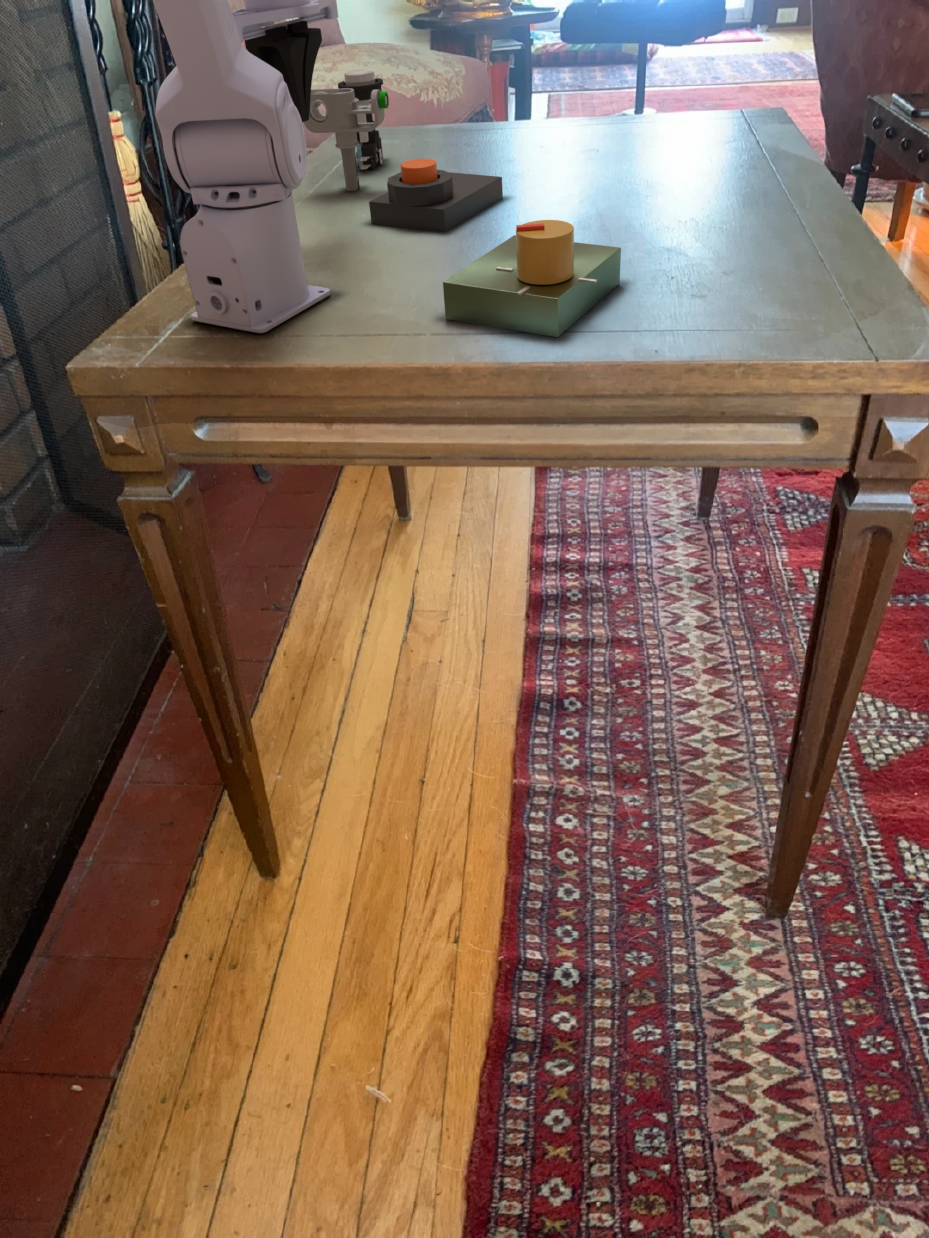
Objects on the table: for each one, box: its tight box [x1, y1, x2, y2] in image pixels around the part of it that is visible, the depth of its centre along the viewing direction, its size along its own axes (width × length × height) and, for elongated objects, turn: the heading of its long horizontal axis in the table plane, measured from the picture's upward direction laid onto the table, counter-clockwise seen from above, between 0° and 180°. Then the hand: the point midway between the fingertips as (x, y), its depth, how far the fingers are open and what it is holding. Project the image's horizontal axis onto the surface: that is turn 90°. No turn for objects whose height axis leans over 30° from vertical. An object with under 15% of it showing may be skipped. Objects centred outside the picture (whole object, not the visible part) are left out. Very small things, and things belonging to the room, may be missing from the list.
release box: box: [368, 169, 504, 233], centre depth 96 cm, size 12×9×4 cm
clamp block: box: [442, 234, 622, 338], centre depth 75 cm, size 12×11×3 cm
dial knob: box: [515, 219, 575, 285], centre depth 71 cm, size 4×4×4 cm
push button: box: [337, 68, 384, 171], centre depth 110 cm, size 7×5×10 cm
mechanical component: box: [303, 88, 390, 192], centre depth 102 cm, size 3×10×10 cm, turn 79°
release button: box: [400, 158, 438, 184], centre depth 92 cm, size 4×4×2 cm
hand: (296, 121), depth 87 cm, fingers closed
